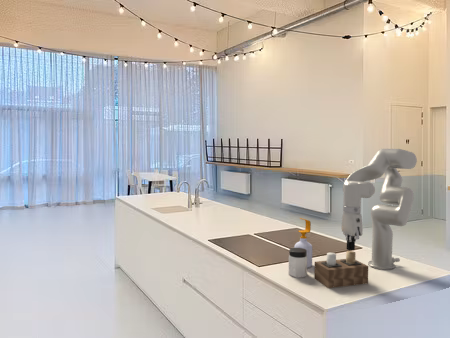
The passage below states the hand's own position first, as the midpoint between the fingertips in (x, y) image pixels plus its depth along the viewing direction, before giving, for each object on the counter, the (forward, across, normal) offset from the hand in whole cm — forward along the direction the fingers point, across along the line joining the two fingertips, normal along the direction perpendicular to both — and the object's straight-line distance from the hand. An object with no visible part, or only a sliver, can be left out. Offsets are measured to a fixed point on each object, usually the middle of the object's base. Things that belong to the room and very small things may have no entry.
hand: (350, 249), depth 172 cm
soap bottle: (+14, +25, +10) cm, 31 cm away
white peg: (+9, 0, +10) cm, 13 cm away
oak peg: (+9, 0, 0) cm, 9 cm away
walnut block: (+14, 0, +4) cm, 15 cm away
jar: (+15, +13, +20) cm, 28 cm away
